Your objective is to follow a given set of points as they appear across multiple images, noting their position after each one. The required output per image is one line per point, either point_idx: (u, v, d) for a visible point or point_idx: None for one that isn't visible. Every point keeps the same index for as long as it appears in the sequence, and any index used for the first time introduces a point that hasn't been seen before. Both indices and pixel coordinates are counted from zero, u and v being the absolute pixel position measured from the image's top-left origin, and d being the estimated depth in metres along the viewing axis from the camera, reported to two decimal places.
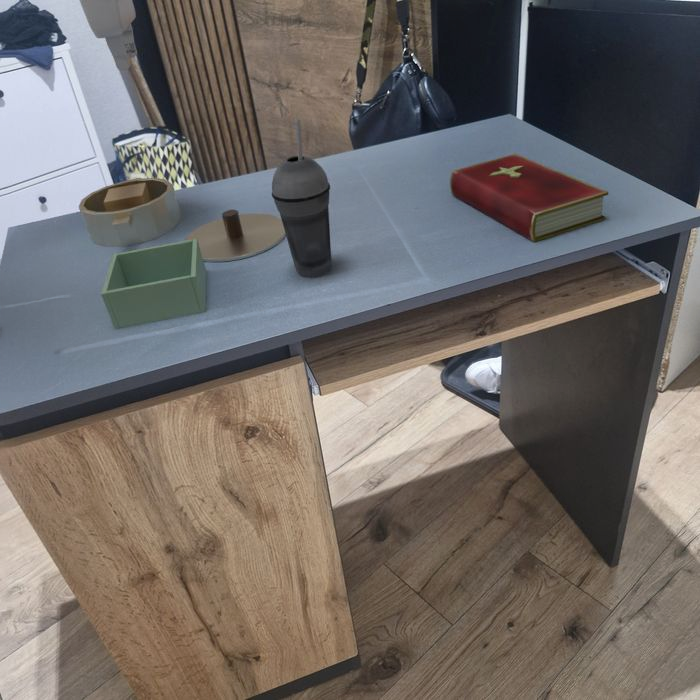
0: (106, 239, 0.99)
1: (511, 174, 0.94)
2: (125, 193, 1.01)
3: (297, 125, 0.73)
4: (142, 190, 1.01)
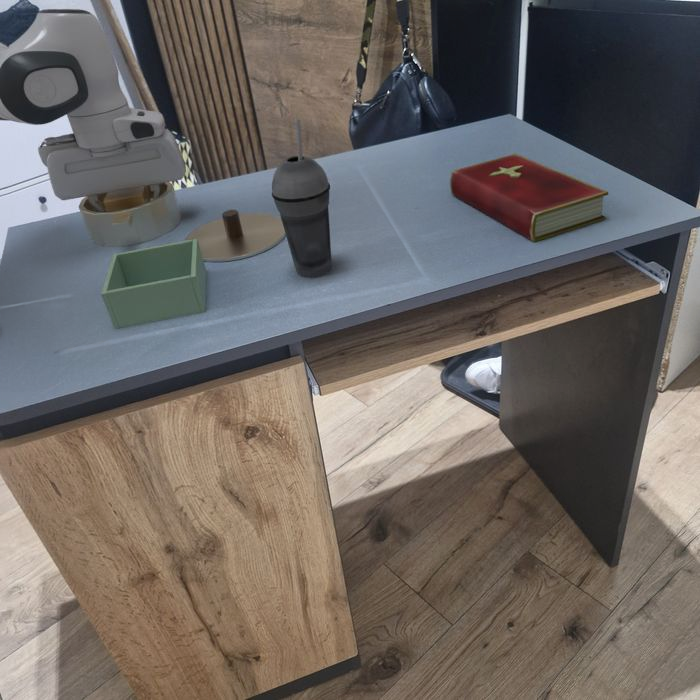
0: (106, 239, 0.99)
1: (511, 174, 0.94)
2: (125, 193, 1.01)
3: (297, 125, 0.73)
4: (142, 190, 1.01)
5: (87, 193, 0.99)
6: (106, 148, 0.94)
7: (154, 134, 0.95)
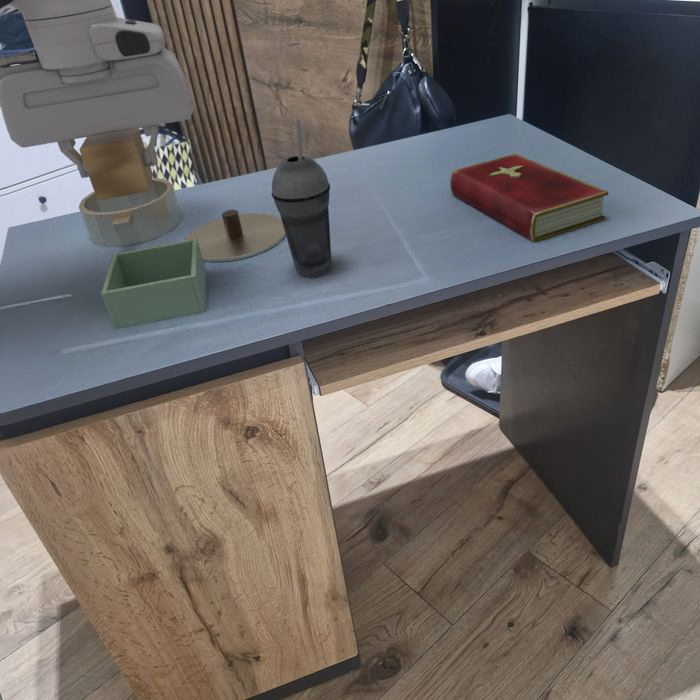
0: (106, 239, 0.99)
1: (511, 174, 0.94)
2: (109, 138, 0.73)
3: (297, 125, 0.73)
4: (133, 135, 0.73)
5: (56, 137, 0.71)
6: (81, 70, 0.67)
7: (149, 50, 0.67)
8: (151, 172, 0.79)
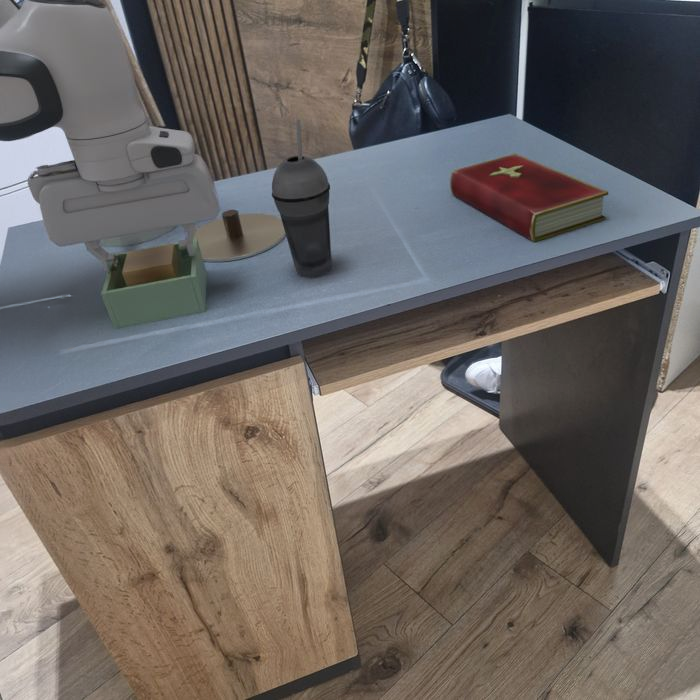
0: (106, 239, 0.99)
1: (511, 174, 0.94)
2: (148, 259, 0.79)
3: (297, 125, 0.73)
4: (170, 255, 0.79)
5: (92, 237, 0.75)
6: (118, 180, 0.71)
7: (182, 162, 0.71)
8: None
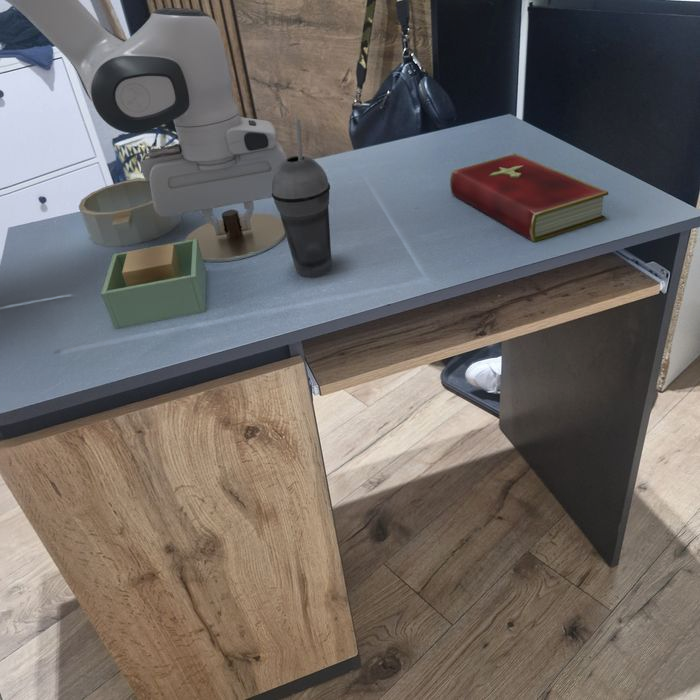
0: (106, 239, 0.99)
1: (511, 174, 0.94)
2: (148, 259, 0.79)
3: (297, 125, 0.73)
4: (170, 255, 0.79)
5: (190, 209, 0.91)
6: (216, 161, 0.86)
7: (268, 145, 0.87)
8: None
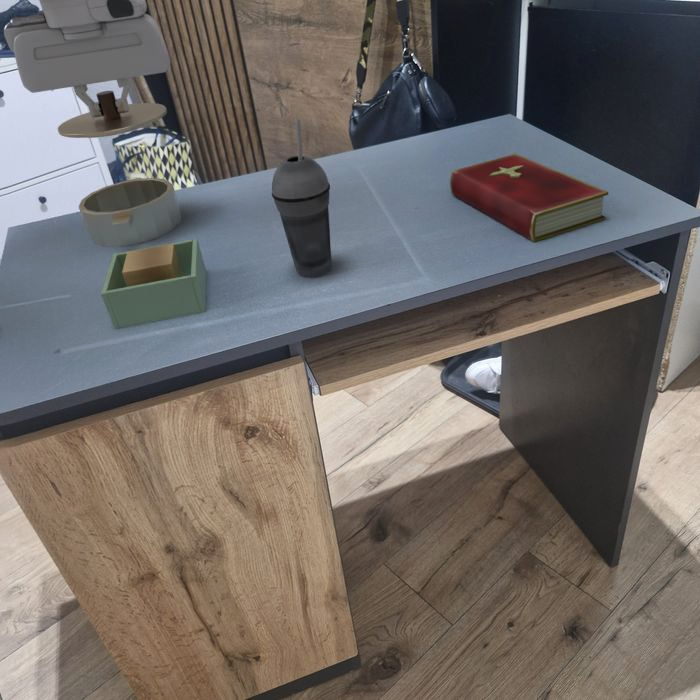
0: (106, 239, 0.99)
1: (511, 174, 0.94)
2: (148, 259, 0.79)
3: (297, 125, 0.73)
4: (170, 255, 0.79)
5: (59, 84, 0.89)
6: (80, 28, 0.84)
7: (134, 13, 0.84)
8: None
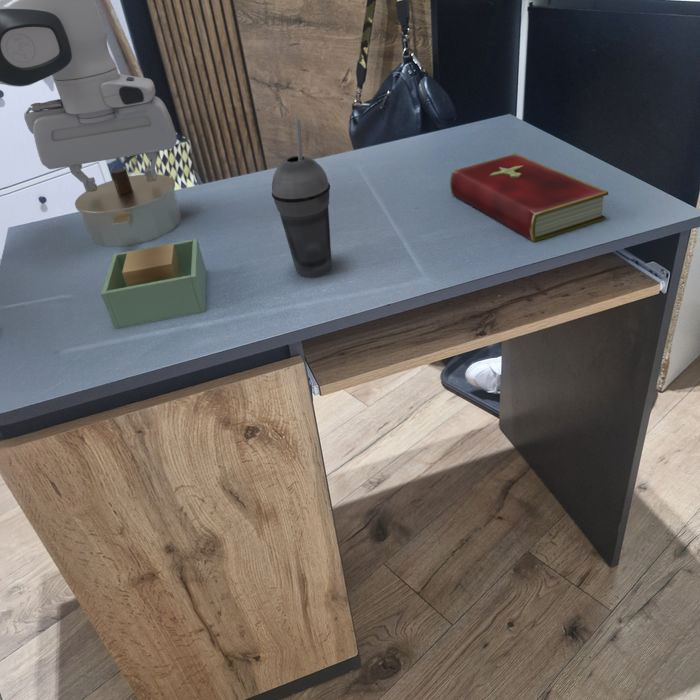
0: (106, 239, 0.99)
1: (511, 174, 0.94)
2: (148, 259, 0.79)
3: (297, 125, 0.73)
4: (170, 255, 0.79)
5: (75, 162, 0.96)
6: (94, 114, 0.92)
7: (144, 100, 0.92)
8: None
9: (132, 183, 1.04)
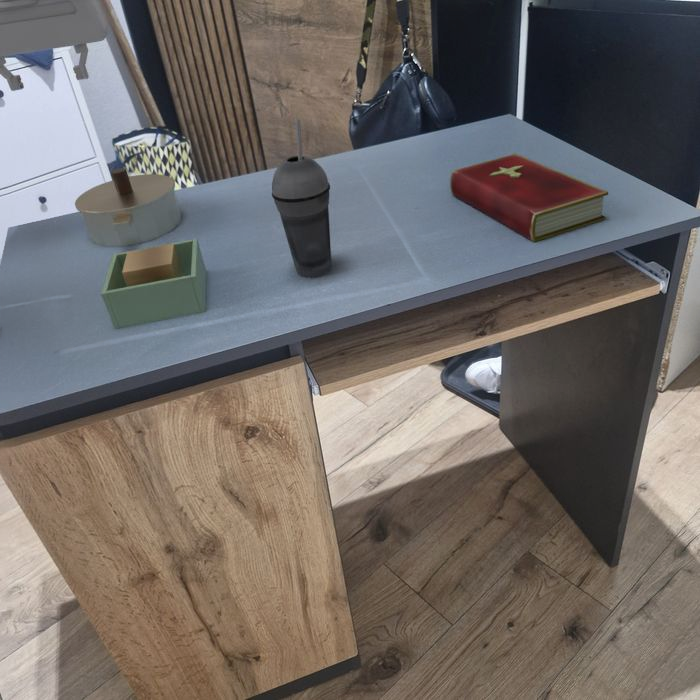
0: (106, 239, 0.99)
1: (511, 174, 0.94)
2: (148, 259, 0.79)
3: (297, 125, 0.73)
4: (170, 255, 0.79)
5: None
6: None
7: None
8: None
9: (132, 183, 1.04)
